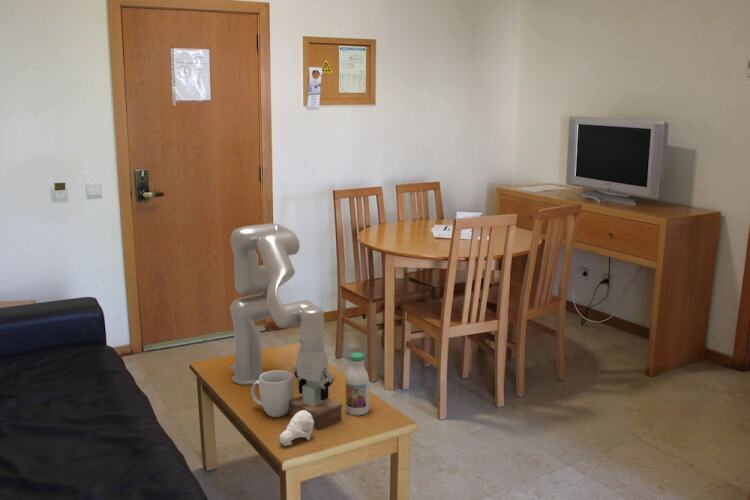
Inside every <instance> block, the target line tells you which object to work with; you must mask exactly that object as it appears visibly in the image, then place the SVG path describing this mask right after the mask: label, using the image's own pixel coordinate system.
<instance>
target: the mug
mask: <svg viewBox="0 0 750 500" xmlns="http://www.w3.org/2000/svg"><path fill="white" fill-rule="evenodd" d="M264 372H265V373H263V374H261V375H260V377H259V380H258V381H256V382H255V383H254V384H252V385H251V391H250V392H251V397H252V399H253V400H254V402H255V403H256V404H258V405H260V406H262V408H263V410H264V412H265V413H266V415H268V416H269V417H272V418H280V417H284V416H285V415H287V414H288V412H290V411H289V410H290V403H289V401H290V400H292V399H294V398H293V397H294V380H293V379H294V378H293V377H294V376H293V373H292V372H291V371H287V370H280V369H277V370H276V369H274V370H269V371H264ZM257 385H258V387H259V398H260V399H259V398H258V397H257V393H256V388H257Z"/></svg>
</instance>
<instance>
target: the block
mask: <svg viewBox="0 0 750 500" xmlns="http://www.w3.org/2000/svg"><path fill="white" fill-rule="evenodd" d="M302 387H303V393H302V396H303V404H307V405H310V406H313V407H316V406H318V405H320V404H322V403H324V402H325V400H323V401H322V400H321V392H320V390H321V388H322V387H321V385H320V383H316V382H310V383H308V384H306V385H303V386H302Z"/></svg>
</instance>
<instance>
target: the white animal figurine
mask: <svg viewBox="0 0 750 500" xmlns="http://www.w3.org/2000/svg"><path fill="white" fill-rule="evenodd" d="M313 426H314V420H313V418H312V415H311V414H310V413H309V412H307V411H306V410H302V411H299V412H298V413H296V414H295V415H294V416H293V417H291V419H290V421H289V423H288V424H287V426H286V429H285V430H283V431H282V432H281V433H280V434H279V437H278V438H279V442H280V443H281V444H282V445H283V447H287V446H291V447H292V441H293V440H295V439H298V438H305V439H306V441H310V439H311V435H312V432H313V429H314V428H313Z"/></svg>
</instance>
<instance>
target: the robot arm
mask: <svg viewBox="0 0 750 500" xmlns="http://www.w3.org/2000/svg"><path fill="white" fill-rule="evenodd" d="M230 245H231V250H232V253H233V256H234V257H233V259H234V261H233V262H234V265H233V266H234V273H233V274H234V288H235V291H236V292H237V293H238V294H239V295H244V296H241V297H237V298H236V299H234V300H233V301H232V302H231V303H230V309H229V310H230V315H231V316H230V317H231V319H232V325H233V335H234V337H233V338H234V353H235V355H234V356H235V362H233V363H232V365H231V366H230V370H231V371H234V374H233V375H232V376H231V377H232V378H231V379H232V382H233V383H235V384H238V385H242V386H250V385H251V386H253V384H254V383H255V382H256V381H258V380H259V377H260V375H261V374H263V373H265V372H266V371H263V364H262V363H263V362H262V361H263V360H262V340H261V339H262V337H261V335H262V334H261V331H260V329H259V328H258V326H257V325H255V322H258V321H261V320H265V319H266V320H267V319H271V318H272V320H273V321H274V323H275V325H276V326H277V327H278V328H282V329H286V328H291V327H296V326H299V329H300V330H299V331H300V333H299V334H300V336H299V337H300V338H299V340H298V343H300V346H299V348H298V351H297V358H296V364H295V365H293V366H291V368H292V371H293V373H294V376H295V378H296V381H297V382H298V393H299V394H301V395H303V387H302V386H303V385H306V384H307V381H306V380H309V381H312V382H316V383H320V385H321V387H322V388H321V390H320V392H321V400H322V401H323V400H325V399H327V398H329V393H330V392H329V387H330V386H331V385H332V384H333V382H334V380H335V379H336V378H335V377H336V376H335V375H333V374H332V373H331V372H330V371H329V362H328V355H327V350H326V349H325V326H324V325H325V323H324V322H325V319H324V318H325V317H324V315H325V314H324V310H323V308H322V307H320V306H318V305H317V306H316V305H315V304H314V303H313V302H312V301H311V300H309V299H307V300H305V299H304V300H300V301H299V300H298V301H294V302H293V301H292V302H288V303H284V304H283V303H282V301H281V299H280V295H279V288H280V287H281V286H282V285H284V284H285V283H287V282H288V281H290V280H291V279H292V278H293V277H294V276H295V272H296V271H295V268H294V265H293V263H292V261H291V259H290V256H293V255H296V254H298V252H299V251H300V246H301V245H300V240H299V237H298V236H297V235H296V234H295V232H294V231H292V230H291V229H289V228H288V227H285V226H284V225H282V224H279V223H275V222H273V223H262V224H253V225H247V226H246V225H245V226H241V227H237V228H235V229H234V230H233V231H232V233H231V235H230ZM256 250H257V251H258V253H259V254H258V253H257V252H256ZM259 255H260V257H261V260H262V262H263V264H262V265H259ZM256 293H257V294H256ZM245 295H246V296H245Z"/></svg>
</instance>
